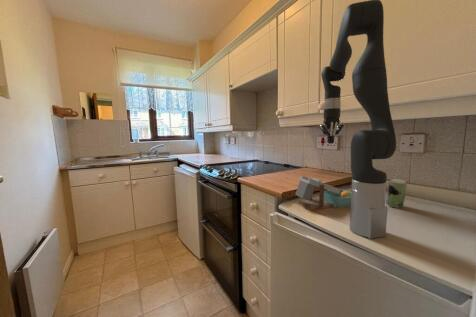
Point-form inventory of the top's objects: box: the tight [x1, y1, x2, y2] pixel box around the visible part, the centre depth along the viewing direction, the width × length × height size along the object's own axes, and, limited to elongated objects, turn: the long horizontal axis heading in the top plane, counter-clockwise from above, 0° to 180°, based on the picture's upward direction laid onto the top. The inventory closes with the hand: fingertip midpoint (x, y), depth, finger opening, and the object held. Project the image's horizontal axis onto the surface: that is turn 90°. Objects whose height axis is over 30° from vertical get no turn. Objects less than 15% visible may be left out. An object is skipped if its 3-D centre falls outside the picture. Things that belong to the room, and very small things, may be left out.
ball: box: [341, 190, 350, 198], centre depth 94 cm, size 4×4×4 cm
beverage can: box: [385, 178, 408, 209], centre depth 86 cm, size 6×7×12 cm
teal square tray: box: [324, 188, 351, 208], centre depth 94 cm, size 12×12×4 cm
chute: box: [295, 175, 342, 201], centre depth 93 cm, size 17×12×10 cm
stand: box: [297, 185, 335, 211], centre depth 90 cm, size 12×10×10 cm
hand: (330, 143), depth 101 cm, fingers closed
